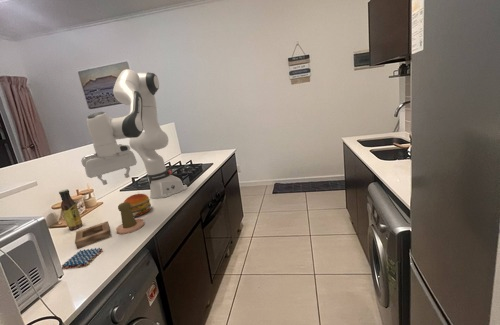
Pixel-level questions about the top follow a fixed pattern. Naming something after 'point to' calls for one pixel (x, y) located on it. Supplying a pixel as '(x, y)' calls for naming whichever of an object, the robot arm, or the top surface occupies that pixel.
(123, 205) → the cork
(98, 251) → the woven mat
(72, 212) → the sauce bottle
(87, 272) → the top surface
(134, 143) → the robot arm
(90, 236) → the brown wooden tray
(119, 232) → the saucer
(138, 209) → the burger
